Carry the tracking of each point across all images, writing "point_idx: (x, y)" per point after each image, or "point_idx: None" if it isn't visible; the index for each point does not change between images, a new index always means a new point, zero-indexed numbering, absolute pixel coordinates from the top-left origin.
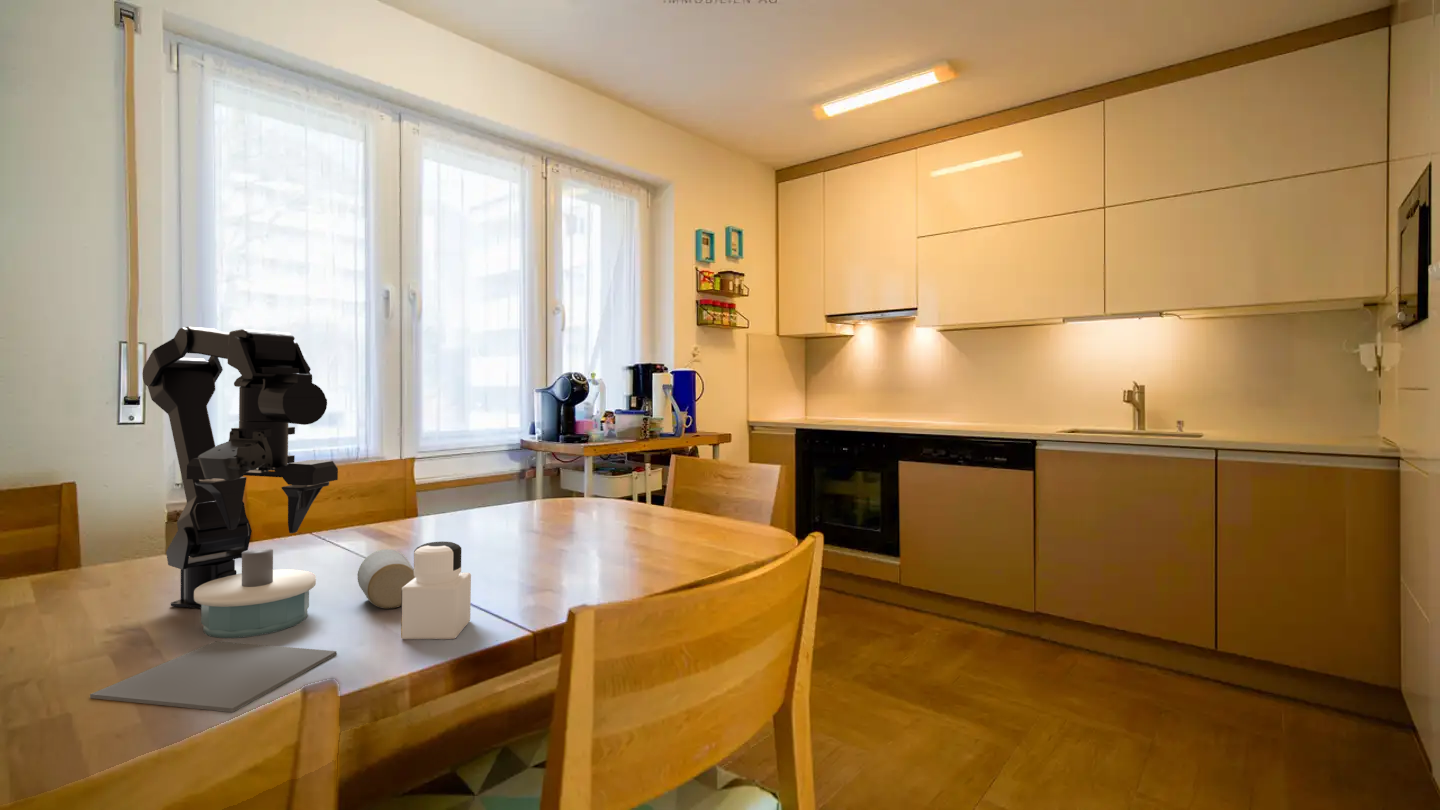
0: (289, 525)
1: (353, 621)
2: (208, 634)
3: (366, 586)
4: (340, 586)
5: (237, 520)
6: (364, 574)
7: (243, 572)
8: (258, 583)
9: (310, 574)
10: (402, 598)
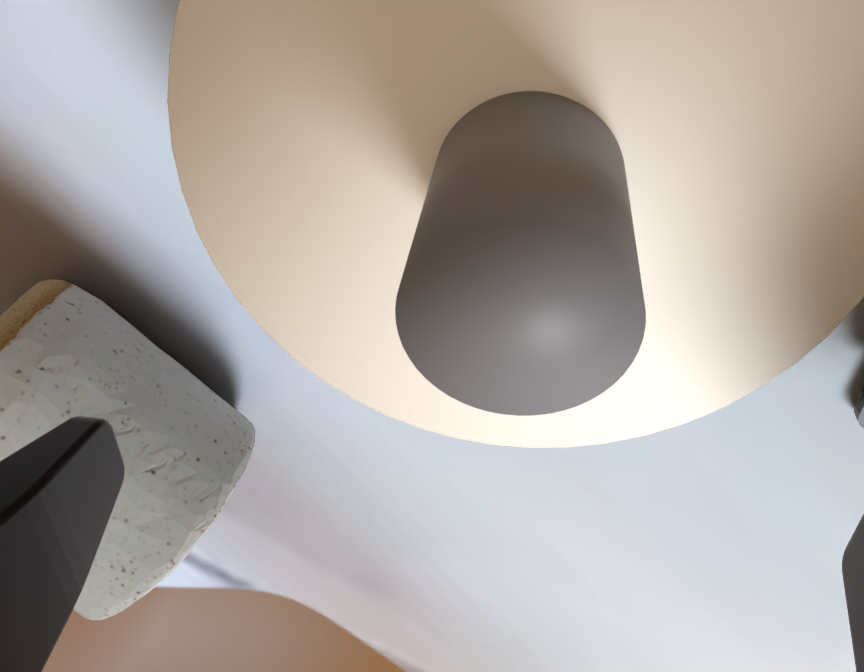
0: (31, 467)
1: (67, 139)
2: None
3: (51, 330)
4: (485, 529)
5: (860, 645)
6: (108, 419)
7: (576, 146)
8: (462, 122)
9: (334, 370)
10: None
